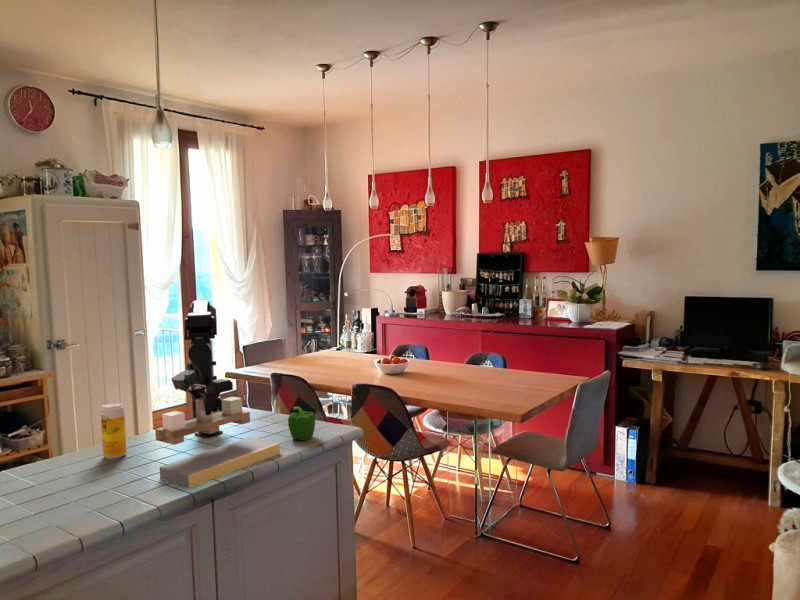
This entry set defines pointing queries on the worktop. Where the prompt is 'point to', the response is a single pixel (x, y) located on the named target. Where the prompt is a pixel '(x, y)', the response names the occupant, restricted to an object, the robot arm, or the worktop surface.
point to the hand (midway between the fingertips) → (204, 414)
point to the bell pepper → (301, 424)
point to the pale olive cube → (232, 405)
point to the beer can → (113, 430)
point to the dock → (219, 461)
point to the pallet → (201, 424)
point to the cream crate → (173, 420)
